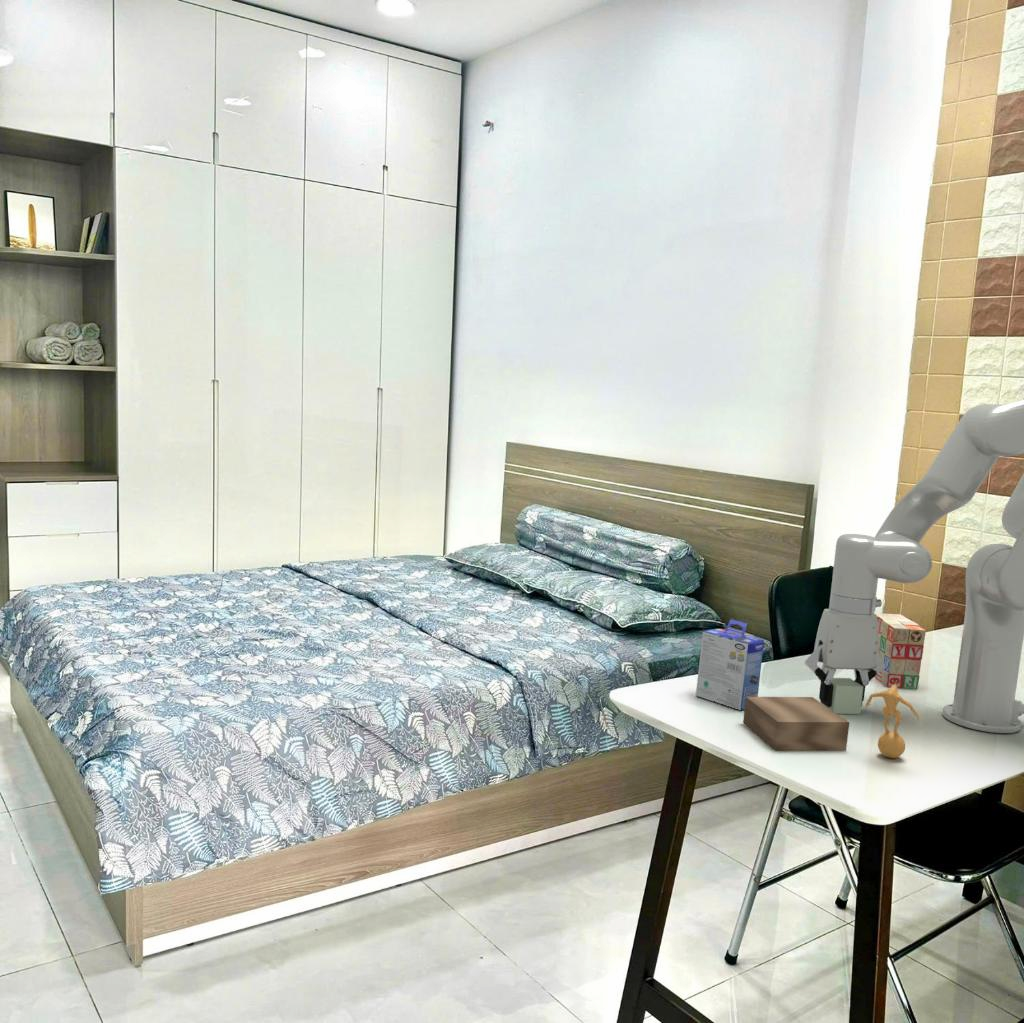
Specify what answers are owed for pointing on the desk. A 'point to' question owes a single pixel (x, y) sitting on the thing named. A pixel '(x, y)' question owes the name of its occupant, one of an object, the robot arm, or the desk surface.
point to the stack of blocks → (899, 651)
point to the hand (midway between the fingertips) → (840, 703)
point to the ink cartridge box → (729, 666)
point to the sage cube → (846, 696)
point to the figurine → (889, 741)
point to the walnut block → (796, 724)
